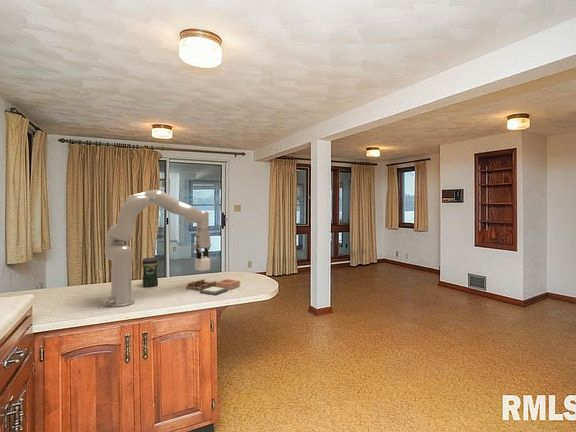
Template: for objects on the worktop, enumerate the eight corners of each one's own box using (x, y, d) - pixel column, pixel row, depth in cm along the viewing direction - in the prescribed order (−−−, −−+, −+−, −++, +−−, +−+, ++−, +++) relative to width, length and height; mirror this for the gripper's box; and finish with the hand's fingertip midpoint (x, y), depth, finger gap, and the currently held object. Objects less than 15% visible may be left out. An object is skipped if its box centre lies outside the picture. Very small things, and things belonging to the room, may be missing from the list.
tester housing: (215, 295, 197) (215, 293, 197) (199, 293, 203) (199, 290, 203) (227, 291, 208) (227, 288, 208) (212, 288, 213) (212, 286, 213)
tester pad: (214, 293, 199) (214, 291, 199) (203, 291, 203) (203, 289, 203) (224, 290, 207) (224, 288, 207) (212, 288, 211) (212, 286, 211)
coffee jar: (157, 284, 226) (157, 256, 225) (158, 286, 219) (158, 258, 218) (141, 285, 222) (141, 257, 221) (142, 288, 215) (142, 259, 214)
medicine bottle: (203, 268, 223) (203, 250, 223) (210, 269, 219) (210, 251, 218) (194, 269, 218) (194, 251, 217) (201, 271, 213) (201, 252, 213)
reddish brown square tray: (229, 290, 210) (229, 283, 210) (215, 288, 215) (215, 282, 215) (239, 286, 220) (239, 280, 220) (226, 284, 225) (226, 278, 225)
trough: (200, 290, 208) (200, 286, 208) (186, 288, 213) (186, 284, 213) (218, 285, 223) (218, 280, 223) (204, 283, 229) (204, 279, 228)
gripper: (197, 231, 208) (197, 260, 208) (215, 229, 224) (215, 256, 224) (188, 230, 212) (188, 259, 212) (206, 229, 227) (206, 255, 227)
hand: (202, 257), depth 218 cm, fingers closed on medicine bottle, 6 cm apart
